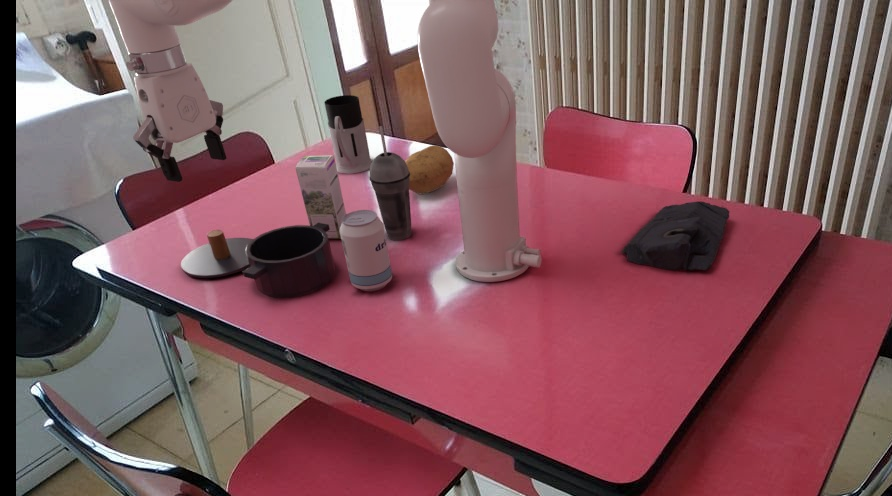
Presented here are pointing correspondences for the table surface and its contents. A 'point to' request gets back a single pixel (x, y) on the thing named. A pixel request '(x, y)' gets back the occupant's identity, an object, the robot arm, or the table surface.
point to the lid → (217, 257)
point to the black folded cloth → (680, 237)
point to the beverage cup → (392, 192)
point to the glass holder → (348, 134)
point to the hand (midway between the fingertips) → (197, 169)
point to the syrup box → (321, 192)
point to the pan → (291, 260)
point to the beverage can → (365, 250)
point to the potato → (429, 169)
